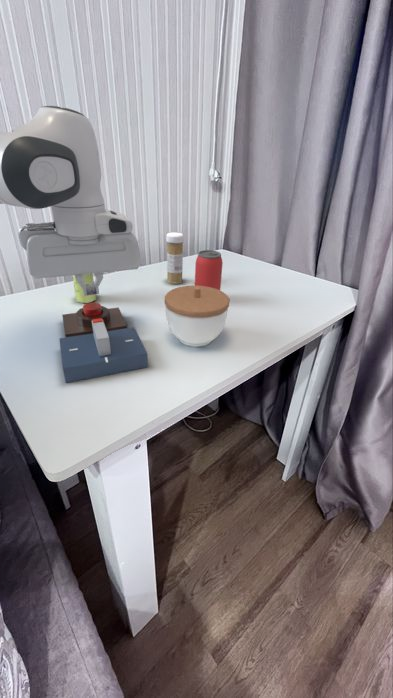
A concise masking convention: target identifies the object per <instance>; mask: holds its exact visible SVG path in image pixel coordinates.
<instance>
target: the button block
mask: <svg viewBox="0 0 393 698" xmlns="http://www.w3.org/2000/svg"><path fill="white" fill-rule="evenodd" d="M101 309H102V314H101V315H99V316H96V317H86V316H84V312H83V307H81V308H79V309H78V310H77V311H76V312H71V313H66V314H61V315H62V323H63V330H64V338H66V337H72V336H79V335H86V334H92V333H93V328H92V319H100V318H102V319H103V322H104V324H105V327H106V330H107V331H112V330H119V329H126V328H128V325H127V322H126V321H125V319H124V316H123V313H122V312H121V310H120V307H112V308H108V307H106V306H104V305H101Z"/></svg>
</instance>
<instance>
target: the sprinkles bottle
mask: <svg viewBox="0 0 393 698" xmlns="http://www.w3.org/2000/svg"><path fill="white" fill-rule="evenodd" d="M165 239H166V271H167V273H166V274H167V275H166V276H167V277H166V278H167V279H166V282H167V283H168V284H171V285H179V284H182V283H183V282H184V281H183V280H184V279H183V271H184V270H183V269H184V267H183V265H184V263H183V261H184V255H183V254H184V253H183V252H184V251H183V248H184V233H181V232H175V231H172V232H168V233H166V235H165Z"/></svg>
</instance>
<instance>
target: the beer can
mask: <svg viewBox="0 0 393 698" xmlns="http://www.w3.org/2000/svg"><path fill="white" fill-rule="evenodd" d="M223 264H224V263H223V258H222V253H221V252H219V251H216V250H211V249H205V250H200V251H198V253H197V257H196V260H195V269H194V286H206V287H211V288H215V289H218V290H220V291H221V287H222V273H223Z"/></svg>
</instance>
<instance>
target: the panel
mask: <svg viewBox="0 0 393 698" xmlns="http://www.w3.org/2000/svg"><path fill="white" fill-rule="evenodd" d="M107 333H108V336H109V341H110V349H111V355H105V356H99V353H98V350H97V346H96V343H95V339H94V334H93V333H92V334H86V335H79V336H72V337H60V338H59V349H60V356H61V357H60V358H61V366H62V367H61V368H62V372H63V376H64V381H65V384H68V383H73V382H78V381H85V380H88V379H94V378H99V377H103V376H109V375H114V374H119V373H125V372H130V371H135V370H141V369H144V368H149V364H148V363H149V362H148V360H149V359H148V352H147V349H146V348H145V346H144V344H143V341H142V340H141V338H140V336H139V334H138V332H137V329H136V328H135V326H134V327H127V328H126V329H119V330H112V331H107Z"/></svg>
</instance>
